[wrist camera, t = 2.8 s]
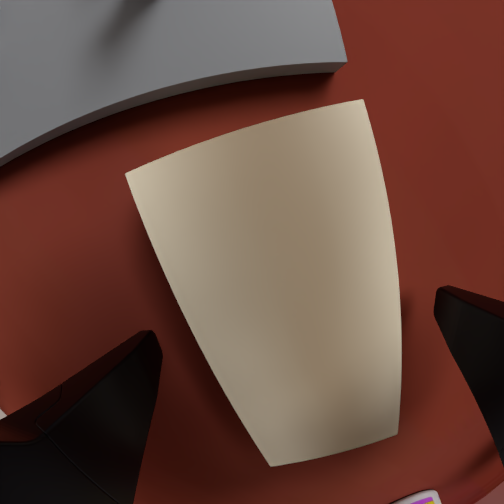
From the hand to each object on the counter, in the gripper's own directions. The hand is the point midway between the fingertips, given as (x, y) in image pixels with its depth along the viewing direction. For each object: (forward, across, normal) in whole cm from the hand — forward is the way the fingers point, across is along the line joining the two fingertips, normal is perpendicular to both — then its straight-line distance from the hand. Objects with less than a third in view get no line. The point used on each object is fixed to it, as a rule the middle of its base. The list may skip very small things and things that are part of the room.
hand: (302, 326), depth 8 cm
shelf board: (+2, 0, 0) cm, 2 cm away
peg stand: (+1, +6, -12) cm, 13 cm away
